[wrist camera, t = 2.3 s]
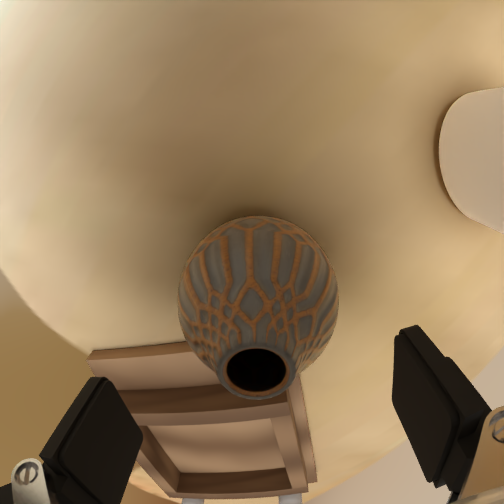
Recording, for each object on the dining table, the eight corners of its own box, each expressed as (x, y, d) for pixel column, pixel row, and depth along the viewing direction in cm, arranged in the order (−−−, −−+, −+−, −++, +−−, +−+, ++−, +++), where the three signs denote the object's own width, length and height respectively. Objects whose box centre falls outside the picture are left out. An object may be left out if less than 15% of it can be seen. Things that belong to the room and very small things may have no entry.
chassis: (92, 350, 19) (66, 386, 15) (289, 325, 18) (295, 370, 14) (179, 481, 25) (172, 512, 21) (316, 472, 24) (320, 507, 20)
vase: (280, 338, 19) (290, 457, 10) (177, 287, 18) (120, 392, 9) (345, 243, 16) (413, 331, 8) (232, 180, 16) (199, 216, 7)
